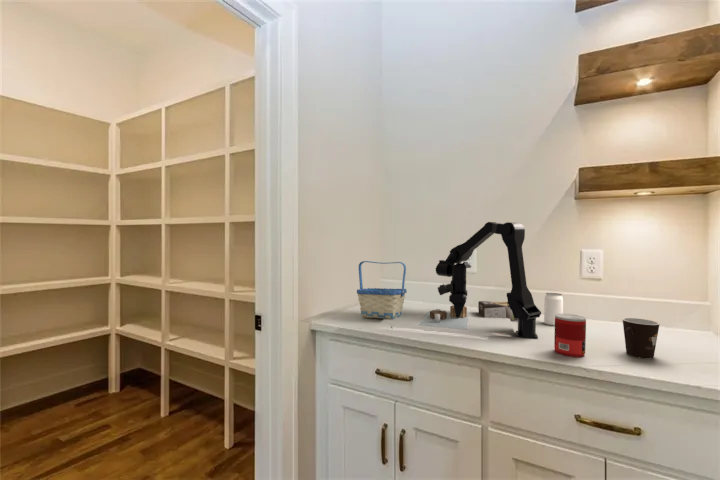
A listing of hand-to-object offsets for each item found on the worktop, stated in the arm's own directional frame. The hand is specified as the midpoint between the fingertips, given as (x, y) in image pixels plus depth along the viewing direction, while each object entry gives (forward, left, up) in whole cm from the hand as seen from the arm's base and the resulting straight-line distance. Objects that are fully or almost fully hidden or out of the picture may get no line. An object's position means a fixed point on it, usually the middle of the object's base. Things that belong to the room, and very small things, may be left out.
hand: (458, 315), depth 149 cm
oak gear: (0, 0, 0) cm, 0 cm away
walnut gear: (-6, +8, 0) cm, 10 cm away
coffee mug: (-27, -52, -2) cm, 59 cm away
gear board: (-8, +5, -1) cm, 10 cm away
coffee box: (+11, -24, +2) cm, 27 cm away
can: (+6, -36, -2) cm, 36 cm away
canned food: (-32, -34, -2) cm, 47 cm away
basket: (-8, +31, -2) cm, 32 cm away
